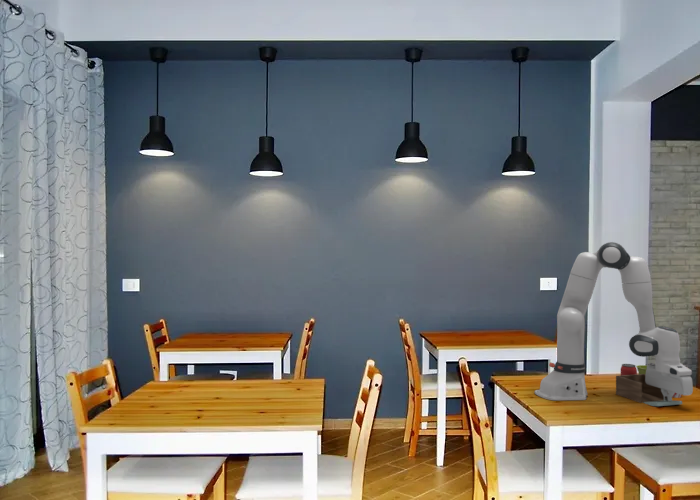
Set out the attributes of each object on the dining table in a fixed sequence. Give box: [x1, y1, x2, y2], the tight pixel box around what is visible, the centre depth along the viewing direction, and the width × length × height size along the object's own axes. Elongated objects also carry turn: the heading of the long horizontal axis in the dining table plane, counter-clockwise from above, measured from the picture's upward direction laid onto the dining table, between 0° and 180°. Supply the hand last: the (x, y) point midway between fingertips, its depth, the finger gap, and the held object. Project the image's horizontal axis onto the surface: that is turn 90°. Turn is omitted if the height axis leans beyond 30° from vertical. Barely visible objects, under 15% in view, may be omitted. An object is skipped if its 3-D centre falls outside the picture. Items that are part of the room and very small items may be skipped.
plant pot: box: [635, 364, 648, 374], centre depth 253 cm, size 9×9×9 cm
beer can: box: [620, 363, 638, 375], centre depth 242 cm, size 7×7×12 cm
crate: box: [615, 373, 669, 404], centre depth 228 cm, size 14×14×9 cm
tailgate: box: [642, 400, 683, 407], centre depth 218 cm, size 12×1×8 cm
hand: (667, 400), depth 218 cm, fingers closed
